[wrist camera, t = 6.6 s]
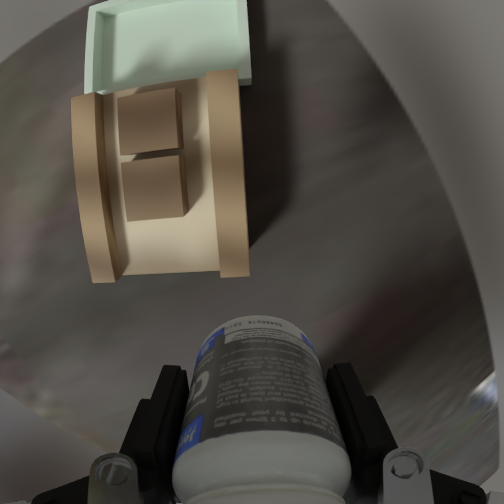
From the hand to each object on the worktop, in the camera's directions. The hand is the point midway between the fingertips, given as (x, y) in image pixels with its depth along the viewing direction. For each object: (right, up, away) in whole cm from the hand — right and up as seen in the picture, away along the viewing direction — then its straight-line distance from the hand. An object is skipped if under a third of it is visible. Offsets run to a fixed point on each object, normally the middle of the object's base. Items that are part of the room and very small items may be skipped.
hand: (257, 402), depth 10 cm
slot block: (-7, +12, +16) cm, 21 cm away
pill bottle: (0, +1, +2) cm, 2 cm away
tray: (-7, +23, +12) cm, 28 cm away
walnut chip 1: (-7, +14, +10) cm, 19 cm away
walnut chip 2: (-7, +10, +11) cm, 16 cm away
